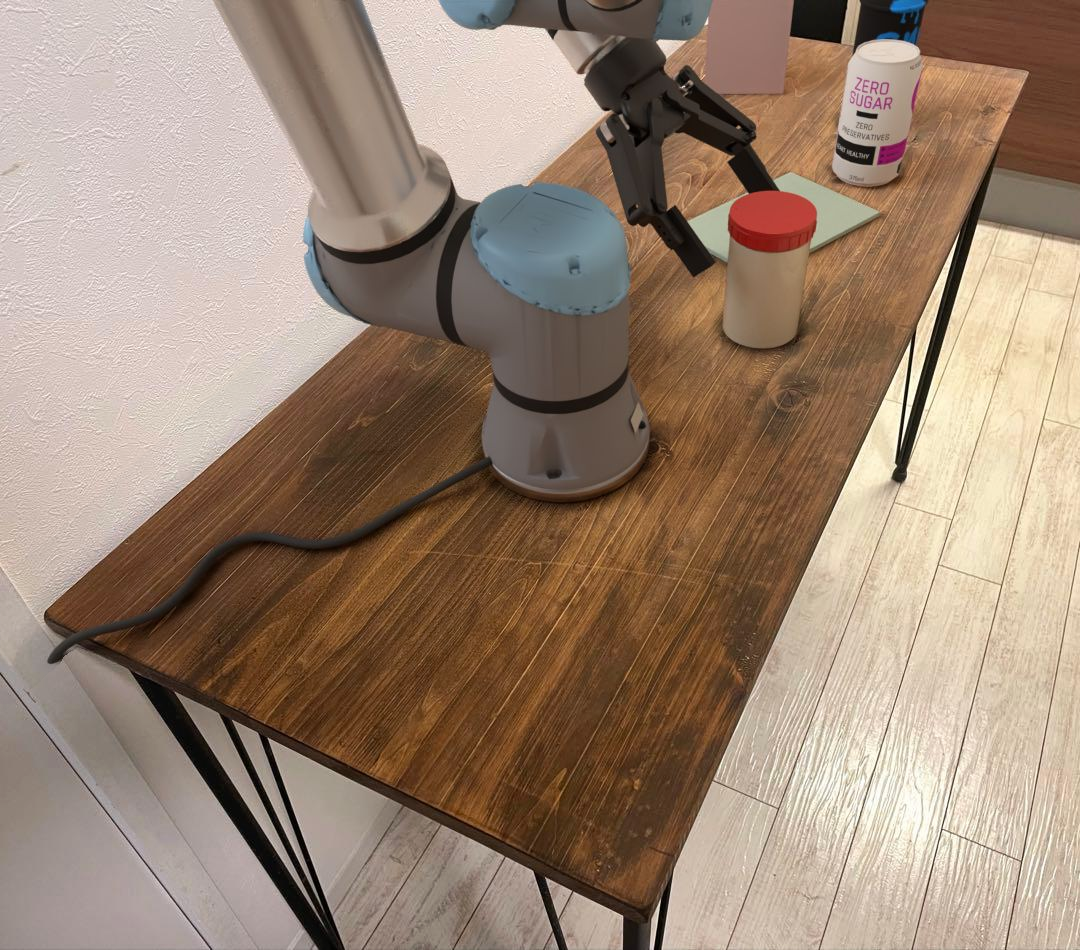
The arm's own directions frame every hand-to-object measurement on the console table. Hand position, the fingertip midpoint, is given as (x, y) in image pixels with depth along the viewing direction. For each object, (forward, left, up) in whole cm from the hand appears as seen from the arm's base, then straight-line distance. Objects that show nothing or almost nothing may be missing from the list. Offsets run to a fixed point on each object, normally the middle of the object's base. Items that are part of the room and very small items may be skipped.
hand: (741, 237), depth 90 cm
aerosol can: (+46, +20, -9) cm, 51 cm away
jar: (+1, -3, -9) cm, 10 cm away
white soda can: (+34, +11, -9) cm, 37 cm away
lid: (+1, -3, +3) cm, 5 cm away
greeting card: (+41, +40, -9) cm, 58 cm away
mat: (+17, +10, -9) cm, 22 cm away
